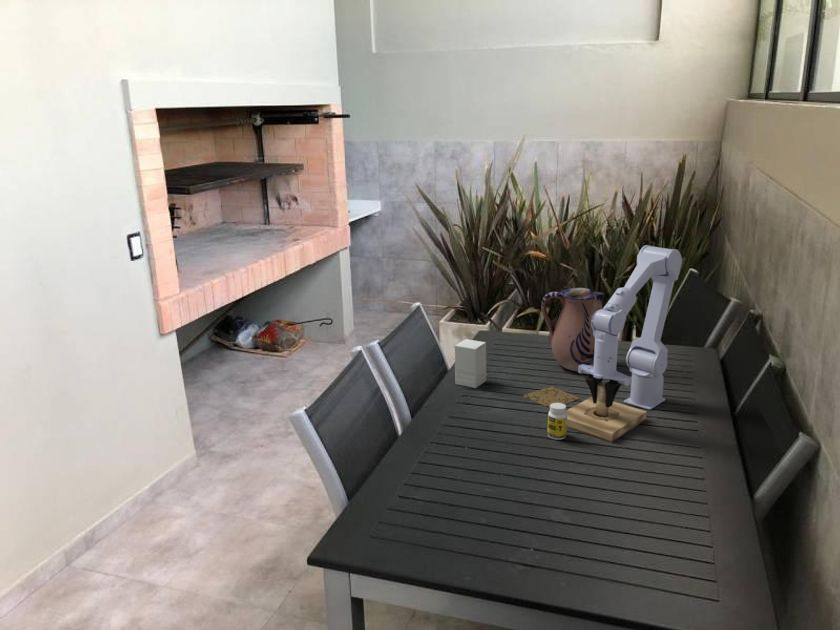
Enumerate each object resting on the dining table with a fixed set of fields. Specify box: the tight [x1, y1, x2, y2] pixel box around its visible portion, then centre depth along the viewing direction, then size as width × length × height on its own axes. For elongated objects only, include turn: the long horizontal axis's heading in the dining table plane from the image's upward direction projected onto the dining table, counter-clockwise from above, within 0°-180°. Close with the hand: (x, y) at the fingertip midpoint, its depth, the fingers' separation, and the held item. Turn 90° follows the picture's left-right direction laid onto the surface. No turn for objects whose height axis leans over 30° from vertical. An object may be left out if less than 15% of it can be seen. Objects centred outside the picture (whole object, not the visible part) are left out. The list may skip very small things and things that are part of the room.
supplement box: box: [454, 338, 487, 389], centre depth 209 cm, size 7×7×13 cm
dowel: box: [596, 382, 609, 416], centre depth 180 cm, size 3×3×8 cm
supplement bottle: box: [546, 403, 568, 441], centre depth 173 cm, size 5×5×8 cm
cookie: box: [523, 386, 582, 409], centre depth 198 cm, size 12×12×1 cm
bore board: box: [566, 396, 648, 443], centre depth 181 cm, size 18×16×2 cm
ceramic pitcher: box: [541, 287, 605, 372], centre depth 218 cm, size 18×21×25 cm
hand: (602, 404), depth 180 cm, fingers closed on dowel, 3 cm apart
